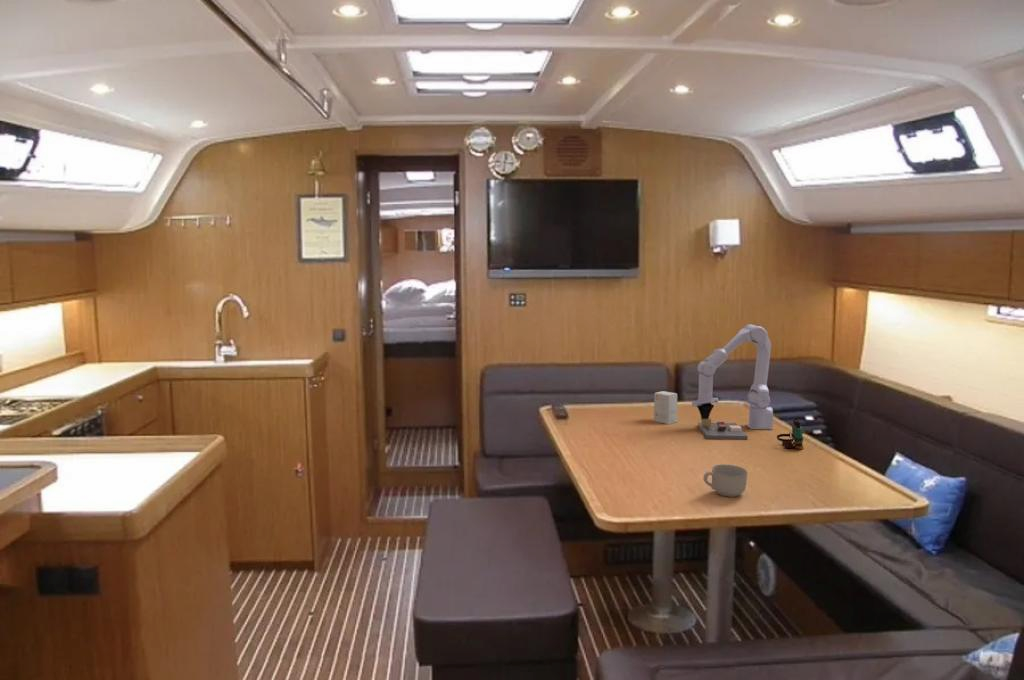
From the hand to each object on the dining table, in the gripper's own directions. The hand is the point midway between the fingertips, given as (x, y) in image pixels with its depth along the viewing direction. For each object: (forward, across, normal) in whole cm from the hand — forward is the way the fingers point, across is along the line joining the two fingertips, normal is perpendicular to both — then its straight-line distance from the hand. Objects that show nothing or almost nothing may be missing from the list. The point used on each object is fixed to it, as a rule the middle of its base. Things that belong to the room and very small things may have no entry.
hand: (704, 421), depth 316 cm
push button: (+2, +3, -13) cm, 14 cm away
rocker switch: (0, -1, -10) cm, 10 cm away
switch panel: (+3, +1, -8) cm, 9 cm away
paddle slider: (+1, -2, -2) cm, 3 cm away
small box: (+4, -4, +19) cm, 20 cm away
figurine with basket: (+4, +4, -39) cm, 39 cm away
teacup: (+4, -61, -59) cm, 85 cm away
